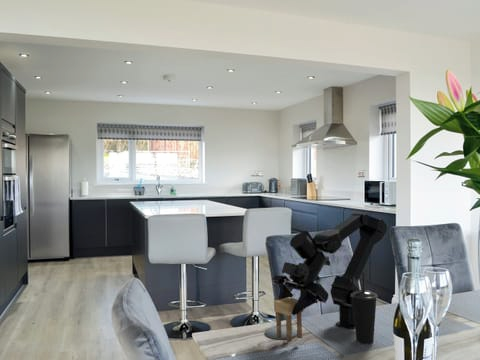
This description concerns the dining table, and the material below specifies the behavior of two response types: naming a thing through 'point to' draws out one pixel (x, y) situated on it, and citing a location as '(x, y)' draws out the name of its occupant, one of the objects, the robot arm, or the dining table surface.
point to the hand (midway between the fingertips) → (285, 311)
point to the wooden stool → (287, 317)
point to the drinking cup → (364, 313)
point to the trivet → (272, 332)
